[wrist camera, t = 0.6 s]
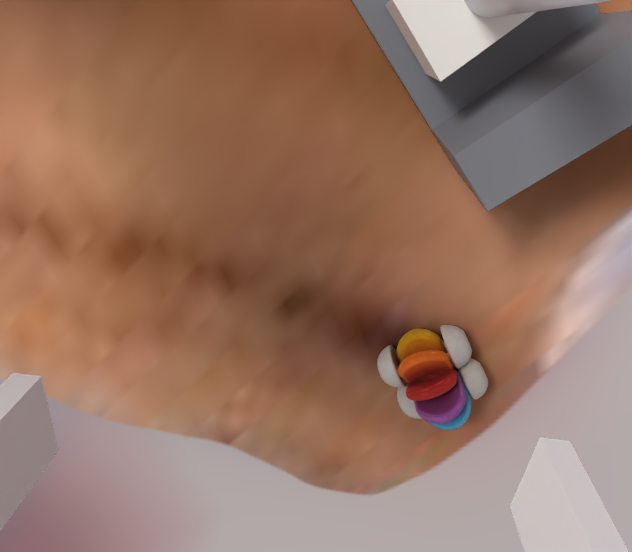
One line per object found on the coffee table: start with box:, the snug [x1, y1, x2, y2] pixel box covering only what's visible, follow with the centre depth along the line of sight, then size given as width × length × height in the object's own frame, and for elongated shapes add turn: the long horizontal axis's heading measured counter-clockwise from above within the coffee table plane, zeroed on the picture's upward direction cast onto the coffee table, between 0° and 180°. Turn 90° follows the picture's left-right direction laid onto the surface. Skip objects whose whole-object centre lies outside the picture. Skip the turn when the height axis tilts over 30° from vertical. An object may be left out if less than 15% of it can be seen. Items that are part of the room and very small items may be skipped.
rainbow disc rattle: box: [377, 325, 488, 430], centre depth 41 cm, size 8×10×7 cm
